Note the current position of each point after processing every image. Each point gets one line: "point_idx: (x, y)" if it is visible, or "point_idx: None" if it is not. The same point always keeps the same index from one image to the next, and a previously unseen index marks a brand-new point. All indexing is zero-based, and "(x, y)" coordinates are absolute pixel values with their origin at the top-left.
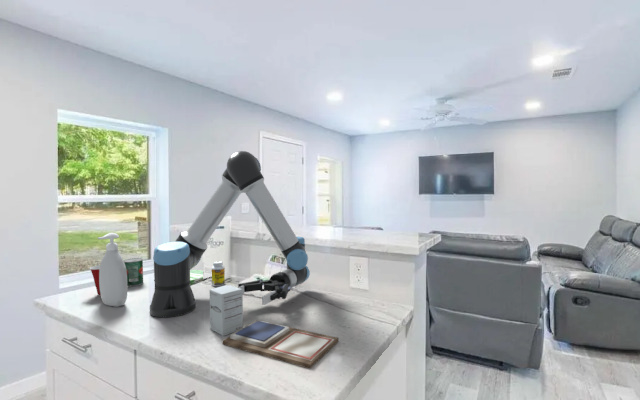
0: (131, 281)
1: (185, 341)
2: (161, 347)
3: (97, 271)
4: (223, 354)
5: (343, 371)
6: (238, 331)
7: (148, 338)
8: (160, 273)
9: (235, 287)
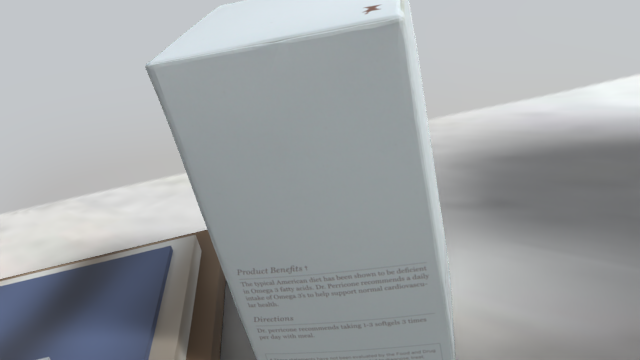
0: None
1: None
2: (429, 123)
3: None
4: (160, 221)
5: None
6: (166, 260)
7: (563, 104)
8: None
9: (242, 37)
